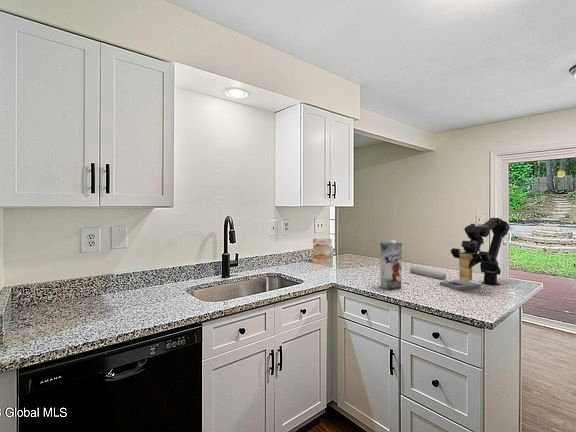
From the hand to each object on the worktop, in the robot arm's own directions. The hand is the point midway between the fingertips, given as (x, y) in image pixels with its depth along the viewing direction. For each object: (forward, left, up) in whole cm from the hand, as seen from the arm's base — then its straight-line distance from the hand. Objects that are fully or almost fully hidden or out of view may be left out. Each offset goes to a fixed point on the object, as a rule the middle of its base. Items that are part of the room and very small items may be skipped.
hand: (464, 267), depth 163 cm
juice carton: (+32, -20, -14) cm, 40 cm away
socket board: (-7, -9, -13) cm, 18 cm away
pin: (-1, 0, -7) cm, 7 cm away
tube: (-9, -37, -14) cm, 40 cm away
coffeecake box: (+36, -106, -14) cm, 112 cm away
